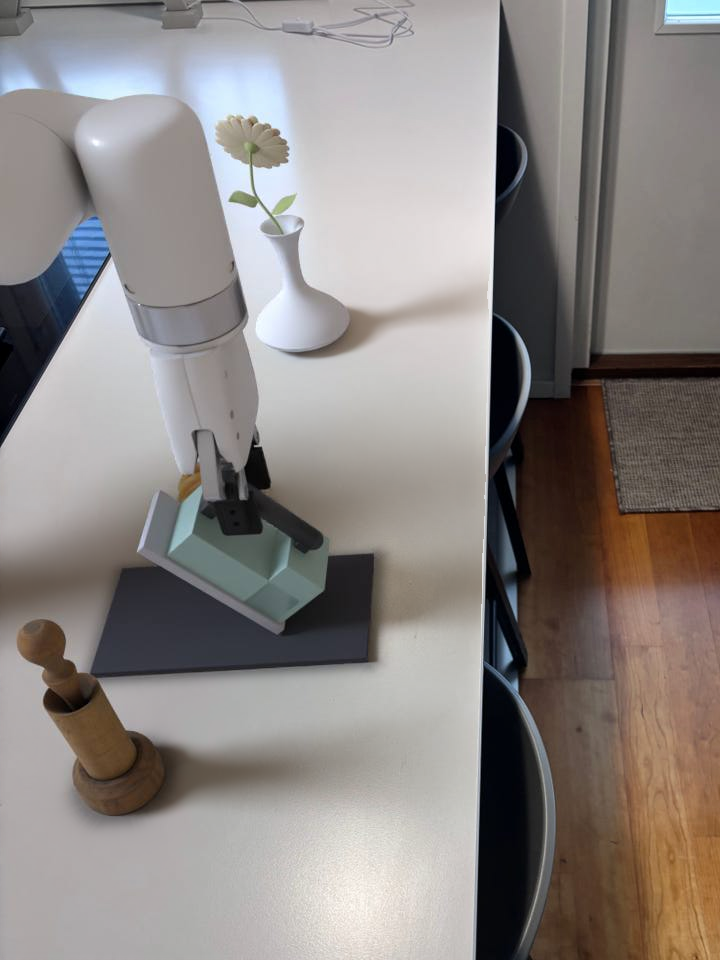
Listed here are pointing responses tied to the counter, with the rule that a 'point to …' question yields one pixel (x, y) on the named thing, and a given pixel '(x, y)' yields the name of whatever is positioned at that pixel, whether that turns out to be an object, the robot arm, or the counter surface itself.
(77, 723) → the mortar and pestle
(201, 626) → the iron mat
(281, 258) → the flower in vase
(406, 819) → the counter surface
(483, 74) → the counter surface
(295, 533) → the iron
